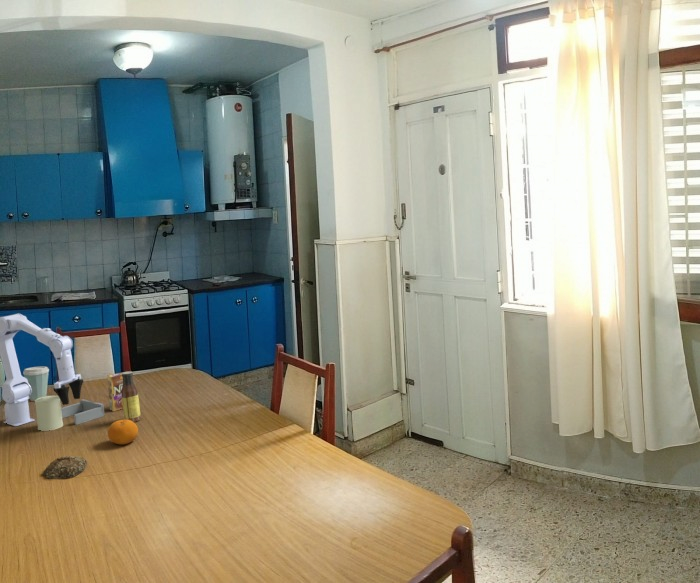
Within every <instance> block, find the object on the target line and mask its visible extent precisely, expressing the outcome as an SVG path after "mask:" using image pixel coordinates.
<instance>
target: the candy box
mask: <svg viewBox="0 0 700 583" xmlns="http://www.w3.org/2000/svg"><path fill="white" fill-rule="evenodd" d="M122 373H123V372H118V373H113V374H107V390H108V391H107V392H108V393H107V394H108V403H109V405H108V406H109V407H108V408H109V410H110V411H111V410H112V411H111V412H116V411H120V409H121V410H123V403H122V393H121V390H122V387H123V377H122Z"/></svg>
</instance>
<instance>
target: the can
mask: <svg viewBox="0 0 700 583" xmlns="http://www.w3.org/2000/svg"><path fill="white" fill-rule="evenodd" d="M34 403H35V411H36V412H35V413H36V422H37V430H38V431H39V430H41V431H40V432H49V430H50V431H54V430H58V429H60V428H63V427H64V423H63V421H64V420H63V418H62V411H61V408H62V402H61V400H60V398H59V396H58V395H46V396H45V397H41V398H38V399H36V400H35V401H34Z"/></svg>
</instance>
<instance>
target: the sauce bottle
mask: <svg viewBox="0 0 700 583" xmlns="http://www.w3.org/2000/svg"><path fill="white" fill-rule="evenodd" d="M121 373H122V372H121ZM133 376H134V374H133V371H124V372H123V373H122V377H123V387H122V390H121V393H122V403H123V409H122V410H123V411H122V412H123V417H124V420H125V419H127V420H131V421H133V422H134V423H137V422H138V421H140V420H141V408H140V400H139V393H138V390H137V388H136V385H135V383H134V378H133Z"/></svg>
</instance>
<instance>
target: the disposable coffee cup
mask: <svg viewBox="0 0 700 583" xmlns="http://www.w3.org/2000/svg"><path fill="white" fill-rule="evenodd" d="M22 372H23V373H22V374H23V377H25V378H26V379H27V380H28V383H29V385H30V386H31V389H32V393H31V395H30V396H29V399H30V402H35V400H36V399H38V398H41V397H45V396H48V394H47V392H48V381H49V372H50V369H49V367H48V366H33V367H27V368H24V370H23V371H22Z"/></svg>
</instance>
